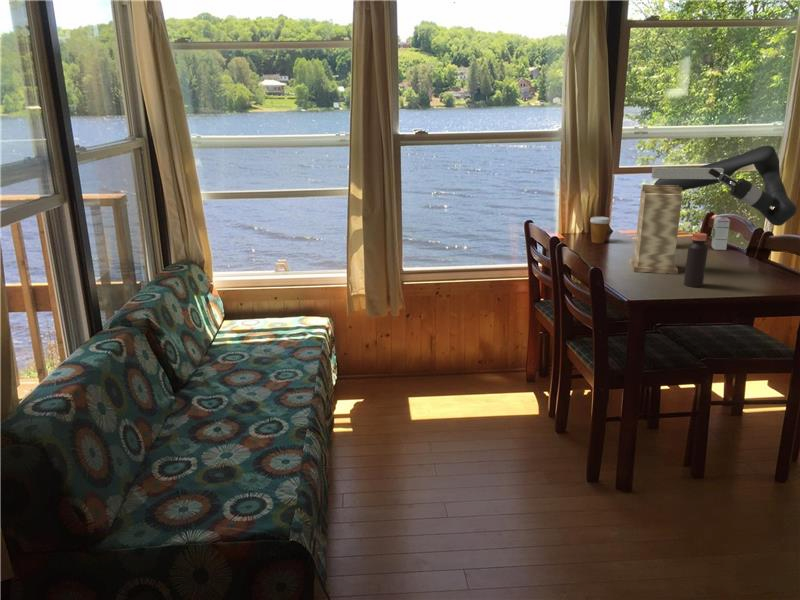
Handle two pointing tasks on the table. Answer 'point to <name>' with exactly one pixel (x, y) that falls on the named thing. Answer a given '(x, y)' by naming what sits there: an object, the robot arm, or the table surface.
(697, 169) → the rail
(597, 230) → the disposable coffee cup
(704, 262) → the bottle
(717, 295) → the table surface
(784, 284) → the table surface
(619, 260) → the table surface
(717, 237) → the syrup box
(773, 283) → the table surface
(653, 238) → the post
